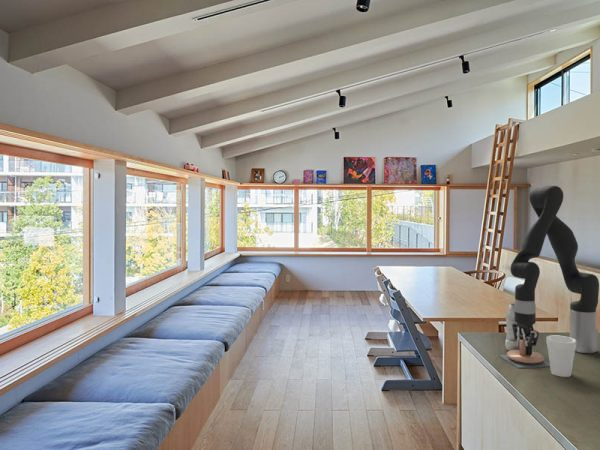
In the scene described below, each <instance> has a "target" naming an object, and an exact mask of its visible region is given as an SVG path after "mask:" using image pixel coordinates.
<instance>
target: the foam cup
mask: <svg viewBox="0 0 600 450" xmlns="http://www.w3.org/2000/svg"><path fill="white" fill-rule="evenodd" d="M545 343H546V347H547V353H548V359H549V360H548V363H549V364H550V366H549V369H550V373H551V374H552V375H554V376H557V377H561V378H562V377H563V378H567V377H568V378H569V377H571V376H572V373H573V372H572V370H573V365H574V359H575V354H576V351H575V348H576V340H575V339H573V338H570V336H565V335H558V334H555V335H554V334H552V335H551V334H550V335H547V336H546V339H545Z"/></svg>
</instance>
